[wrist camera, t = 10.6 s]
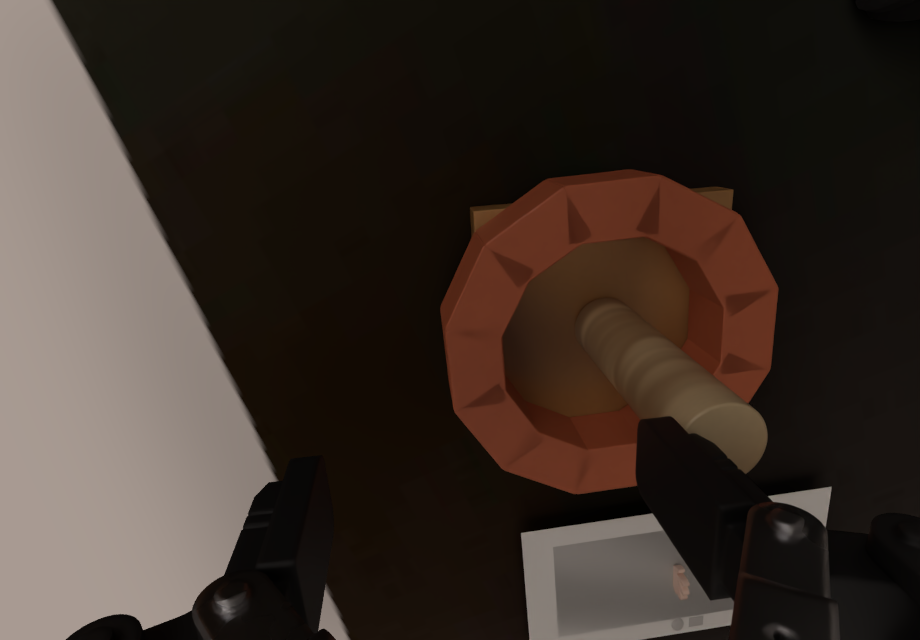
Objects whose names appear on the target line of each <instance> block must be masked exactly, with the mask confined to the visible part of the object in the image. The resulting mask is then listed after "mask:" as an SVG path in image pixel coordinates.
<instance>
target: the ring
mask: <svg viewBox="0 0 920 640" xmlns="http://www.w3.org/2000/svg"><path fill="white" fill-rule="evenodd" d="M640 237H645V238H647V239H649V240H652V241H654V242H656V243H658V244H660V245H662V246H664V247H665V248H666V250H667V251H668V253H669V255H670V256H671V258H672V260H673V261H674V263H675V265H676V267H677V268H678V270H679V272H680V273H681V275H682V277H683V278H684V280H685V282H686V284H687V285H688V287H689V313H688V338H687V340H686V342H685V343H684V345H683V347H682V348H681V350H682V351H684V352H685V353H686V354H687V355H689V356H690V357H691V358H692V359H694V360H695V361H696V362H697V363H698V364H700V365H701V366H702V367H703V368H705V369H706V370H707V371H708V372H710V373H711V374H712V375H713V376H714V377H716V378H717V379H718V380H719V381H721V382H722V383H723V384H724V385H726V386H727V387H728V388H729V389H731V390H732V391H733V392H734V393H735V394H737V395H738V396H739V397H740V398H742V399H743V400H744V401H745V402H747V403H749V401H750V400H751V398H752V397H753V395H754V394H755V392H756V391H757V389H758V388H759V386H760V385H761V383H762V382H763V380H764V379H765V377H766V375H767V374H768V372H769V371H770V368H771V360H772V350H773V339H774V329H775V319H776V309H777V298H778V286H777V284H776V282H775V280H774V278H773V276H772V274H771V272H770V271H769V269H768V267H767V265H766V263H765V261H764V259H763V257H762V255H761V253H760V251H759V249H758V248H757V246H756V244H755V242H754V240H753V238H752V236H751V234H750V232H749V230H748V228H747V226H746V225H745V223H744V221H743V219H742V217H741V215H739V214H738V213H737V212H735V211H733V210H731V209H729V208H727V207H725V206H723V205H721V204H719V203H717V202H715V201H713V200H711V199H709V198H707V197H705V196H703V195H701V194H699V193H697V192H695V191H693V190H691V189H689V188H687V187H685V186H683V185H681V184H679V183H677V182H675V181H673V180H671V179H669V178H667V177H665V176H663V175H658V174H653V173H648V172H642V171H637V170H632V169H628V170H619V171H610V172H601V173H592V174H584V175H575V176H566V177H557V178H549V179H546V180H544V181H543V182H541V183H540V184H538V185H537V186H536V187H534V188H533V189H532V190H530V191H529V192H528V193H526V194H525V195H523V196H522V197H521V198H519V199H518V200H517V201H515V202H514V203H513V204H511V205H510V206H509V207H507V208H506V209H504V210H503V211H502V212H500V213H499V214H498V215H496V216H495V217H494V218H492V219H491V220H489V221H488V222H487V223H485V224H484V225H483V226H481V227H480V228H479V229H477V230H476V232H474V234H473V236H472V238H471V240H470V242H469V245H468V247H467V249H466V251H465V253H464V256H463V258H462V260H461V262H460V264H459V267H458V269H457V271H456V273H455V275H454V278H453V280H452V282H451V284H450V286H449V289H448V291H447V293H446V295H445V298H444V300H443V302H442V304H441V309H440V312H441V320H442V328H443V337H444V345H445V354H446V362H447V370H448V379H449V385H450V391H451V397H452V403H453V409H454V412H455V414H456V415H457V416H458V417H459V418H460V419H461V421H462V422H463V423H464V424H465V425H466V427H467V428H468V429H469V430H470V431H471V433H472V434H473V435H474V436H475V437H476V438H477V440H478V441H479V442H480V443H481V444H482V446H483V447H484V448H485V449H486V450H487V452H488V453H489V454H490V455H491V456H492V457H493V459H494V460H495V461H496V462H497V463H498V465H499V466H500V467H501V468H502V469H503V470H505V471H507V472H510V473H513V474H516V475H519V476H522V477H525V478H528V479H531V480H534V481H537V482H540V483H543V484H546V485H549V486H552V487H555V488H558V489H561V490H564V491H566V492H569V493H572V494H583V493H590V492H597V491H604V490H611V489H618V488H625V487H632V486H637V482H636V474H635V470H636V449H637V428H638V423H639V421H640V419H639V417H638V416H637V415H636V414H635V412H634V411H633V410H632V409H631V407H630V406H629V405H627V406H625V407H624V408H622V409H621V410H619V411H612V412H605V413H598V414H590V415H583V416H576V417H567V416H565V415H562V414H559V413H557V412H554V411H551V410H548V409H546V408H543V407H540V406H538V405H535V404H532V403H530V402H527V401H525V400H524V399H523V397H522V396H521V395H520V393H519V392H518V391H517V390H516V388H515V387H514V386H513V384H512V383H511V382H510V381H509V379H508V378H507V377H506V375H505V364H504V352H503V339H502V336H503V334H504V332H505V330H506V328H507V326H508V324H509V322H510V320H511V318H512V316H513V314H514V312H515V310H516V308H517V306H518V304H519V302H520V300H521V298H522V296H523V294H524V292H525V290H526V288H527V286H528V284H529V282H530V281H531V280H532V279H534V278H535V277H537V276H538V275H539V274H541V273H542V272H544V271H545V270H547V269H548V268H549V267H551V266H552V265H554V264H555V263H556V262H558V261H559V260H561V259H562V258H563V257H565V256H566V255H568V254H569V253H570V252H572V251H573V250H575V249H576V248H577V247H579V246H580V245H582V244H590V243H599V242H607V241H615V240H623V239H632V238H640Z"/></svg>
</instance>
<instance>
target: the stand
mask: <svg viewBox="0 0 920 640" xmlns="http://www.w3.org/2000/svg"><path fill="white" fill-rule="evenodd" d="M691 190H693V191H695V192H697V193H699V194H701V195H703V196H705V197H707V198H709V199H711V200H713V201H715V202H717V203H719V204H721V205H723V206H725V207H727V208H729V209H731V210H732V202H733V190H732V189H727V188H722V187H705V188H693V189H691ZM512 204H513V203H512ZM510 205H511V204H499V205H487V206H475V207H470V219H471V236H473V234H474V232H476V230H477V229H479V228H480V227H481V226H483V225H484V224H485V223H487V222H488V221H489V220H491V219H492V218H494V217H495V216H496V215H498V214H499V213H500V212H502V211H503V210H504V209H506V208H507V207H509V206H510ZM688 313H689V287H688V285H687V284H686V282H685V280H684V278H683V277H682V275H681V273H680V272H679V270H678V268H677V267H676V265H675V263H674V261H673V260H672V258H671V256H670V255H669V253H668V251H667V250H666V248H665V247H664V246H662V245H660V244H658V243H656V242H654V241H652V240H649V239H647V238H645V237H640V238H632V239H623V240H615V241H607V242H599V243H590V244H582V245H580V246H579V247H577V248H576V249H575V250H573V251H572V252H570V253H569V254H568V255H566V256H565V257H563V258H562V259H561V260H559V261H558V262H556V263H555V264H554V265H552V266H551V267H549V268H548V269H547V270H545V271H544V272H542V273H541V274H539V275H538V276H537V277H535V278H534V279H532V280H531V281H530V282H529V284H528V286H527V288H526V290H525V292H524V294H523V296H522V298H521V300H520V302H519V304H518V306H517V308H516V310H515V312H514V314H513V316H512V318H511V320H510V322H509V324H508V326H507V328H506V330H505V332H504V334H503V336H502V339H503V352H504V364H505V375H506V377H507V378H508V379H509V381H510V382H511V383H512V384H513V386H514V387H515V388H516V390H517V391H518V392H519V393H520V395H521V396H522V397H523V399H524V400H525V401H527V402H530V403H532V404H535V405H538V406H540V407H543V408H546V409H548V410H551V411H554V412H557V413H559V414H562V415H565V416H567V417H576V416H583V415H590V414H598V413H605V412H612V411H619V410H621V409H622V408H624V407H625V406H627V405H629V406H630V407H631V409H632V410H633V411H634V412H635V414H636V415H637V416H638V417H639V419H640V420H641V419H648V418H657V417H665V416H671V417H673V418H674V419H675V420H676V421H677V422H678V423H679V424H680V425H681V426H682V427H683V428H684V429H685V430H686V432H687V433H688V434H691V433H696V434H698V435H700V436H702V437H704V438H705V439H707V440H709V441H711V442H713V443H715V444H716V445H717V446H718V447H719V448H720V449H721V450H722V451H723V452H724V453H725V454H726V455H727V458H728V459H729V458H730V459H731V460H732V461H733V462H734V463H735V464H736V465H737V466H738V469H741V470H742V471H743V472H744V473H745V474H746V473H748V472H749V471H750V470H751V469H752V468H753V467H754V466H755V465H756V464H757V463H758V461H759V460H760V458H761V457H762V455H763V453H764V451H765V448H766V445H767V438H768V434H767V427H766V424H765V422H764V419H763V418H762V416H761V415H760V414H759V412H758V411H756V410H755V409H754V408H753V407H752V406H750V405H749V404H748V403H747V402H745V401H744V400H743V399H742V398H740V397H739V396H738V395H737V394H735V393H734V392H733V391H732V390H731V389H729V388H728V387H727V386H726V385H724V384H723V383H722V382H721V381H719V380H718V379H717V378H716V377H714V376H713V375H712V374H711V373H710V372H708V371H707V370H706V369H705V368H703V367H702V366H701V365H700V364H698V363H697V362H696V361H695V360H694V359H692V358H691V357H690V356H689V355H687V354H686V353H685V352H684V351H682V350H681V348H682V347H683V345H684V343H685V342H686V340H687V338H688Z"/></svg>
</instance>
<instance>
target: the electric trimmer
mask: <svg viewBox="0 0 920 640" xmlns="http://www.w3.org/2000/svg"><path fill="white" fill-rule="evenodd" d="M855 3H856V5H857V7H858V9H861V10H865V11H866V13H867V15H868V16H869V17H870V18H871V19H875V20H882V21H892V22H904V21H913V20H919V19H920V0H856V2H855Z"/></svg>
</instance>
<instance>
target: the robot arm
mask: <svg viewBox="0 0 920 640" xmlns="http://www.w3.org/2000/svg"><path fill="white" fill-rule="evenodd" d="M635 474H636V482H637V486H638V489H639V492H640V495H641V497H642V498H643V500H644V501H645V503H646V504H647V506H648V507H649V509H650V510H651V512H652V513H653V515H654V516H655V518H656V519H657V521H658V522H659V524H660V525H661V527H662V528H663V530H664V531H665V533H666V535H667V536H668V538H669V539H670V541H671V542H672V544H673V545H674V547H675V548H676V550H677V551H678V553H679V554H680V556H681V557H682V559H683V560H684V562H685V563H686V565H687V566H688V568H689V569H690V571H691V572H692V574H693V575H694V577H695V578H696V580H697V581H698V583H699V584H700V586H701V587H702V589H703V590H704V592H705V593H706V595H707V596H708V598H709V599H710V601H711V600H718V599H725V598H731V599H732V600H733V601H734V608H733V614H732V621H731V628H730V635H729V640H920V518H918V517H915V516H911V515H906V514H900V513H886V514H881V515H878V516H876V517H875V518H874V519H873V520H872V522H871V526H870V531H869V534H863V533H853V532H843V531H833V530H826V528H825V526H824V525H823V524H822V522H821V521H820V520H818V519H817V518H816V517H815V516H813V515H812V514H810V513H809V512H807V511H805V510H803V509H801V508H798V507H796V506H793V505H789V504H785V503H779V502H773V501H772V500H771V499H770V498H769V497H768V496H767V495H766V494H765V493H764V492H763V491H762V490H761V489H760V488H759V487H758V486H757V485H756V484H755V483H754V482H753V481H752V480H751V479H750V478H749V477H748V476H747V475H746V474H745V473H744V472H743V471H742V470H741V469H738V466H737V465H736V464H735V463H734V462H733V461H732V460H731V459H730V458H729V459H728V458H727V455H726V454H725V453H724V452H723V451H722V450H721V449H720V448H719V447H718V446H717V445H716V444H715V443H713V442H711V441H709V440H707V439H705V438H704V437H702V436H700V435H698V434H696V433H691V434H688V433H687V432H686V430H685V429H684V428H683V427H682V426H681V425H680V424H679V423H678V422H677V421H676V420H675V419H674V418H673V417H671V416H665V417H657V418H648V419H641V420H640V421H639V423H638V428H637V449H636V470H635ZM333 531H334V518H333V508H332V502H331V496H330V490H329V485H328V479H327V473H326V467H325V462H324V458H323V456H322V455H320V456H311V457H302V458H293V459H290V461H289V464H288V467H287V470H286V473H285V476H284V479H283V481H277V482H269V483H268V484H267V485H266V486H265V487H264V488H263V489H262V490H261V491H260V492H259V493H258V494H257V495H256V496H255V497H254V500H253V502H252V505H251V508H250V510H249V513H248V516H247V518H246V520H245V523H244V526H243V530H242V531H241V533H240V536H239V538H238V541H237V544H236V546H235V549H234V551H233V554H232V556H231V559H230V561H229V564H228V567H227V569H226V572H225V574H224V576H222V577H220V578H218V579H217V580H215V581H214V582H212V583H211V584H210V585H208V586H207V587H206V588H205V589H204V590H203V591H202V592H201V593H200V595H199V596H198V597H197V599H196V601H195V603H194V605H193V609H192V611H190V612H188V613H186V614H184V615H182V616H180V617H177V618H175V619H172V620H169V621H167V622H164V623H161V624H159V625H156V626H154V627H151V628H148V629H146V630H143V629H142V626H141V624H140V622H139V621H138V620H137V619H136V618H135V617H133V616H130V615H124V614H119V615H111V616H107V617H104V618H101V619H98V620H96V621H94V622H91V623H89V624H87V625H86V626H84V627H82V628H81V629H79V630H77V631H76V632H75V633H73V634H72V635H71V636H70V637H68V638H67V639H66V640H336V639H335V638H334V637H333V636H332V635H331V634H330V633H329V632H328V631H327V630H325V629H321V630H319V631H318V628H319V621H320V615H321V609H322V602H323V597H324V590H325V584H326V578H327V571H328V565H329V559H330V552H331V546H332V540H333Z"/></svg>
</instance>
